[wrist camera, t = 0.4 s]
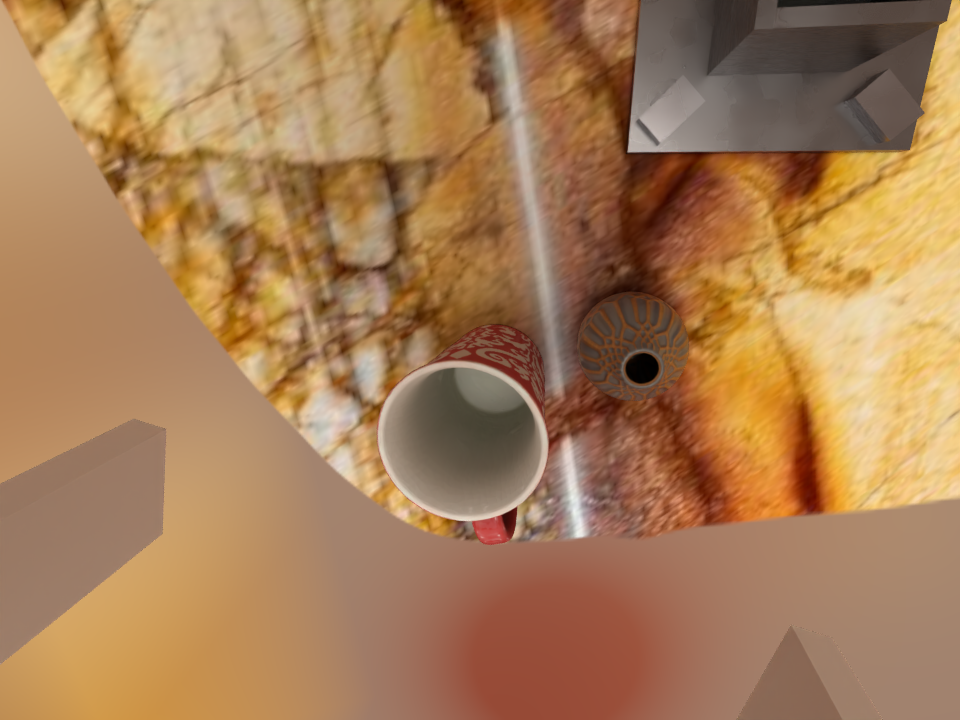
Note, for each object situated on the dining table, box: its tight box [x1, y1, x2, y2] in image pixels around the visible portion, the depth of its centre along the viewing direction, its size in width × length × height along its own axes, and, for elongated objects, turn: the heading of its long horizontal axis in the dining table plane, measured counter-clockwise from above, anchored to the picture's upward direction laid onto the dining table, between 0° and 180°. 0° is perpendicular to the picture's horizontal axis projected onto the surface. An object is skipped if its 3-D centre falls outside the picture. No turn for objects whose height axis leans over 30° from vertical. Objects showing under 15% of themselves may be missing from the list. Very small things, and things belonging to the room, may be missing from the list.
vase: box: [577, 292, 689, 401], centre depth 32 cm, size 7×7×9 cm
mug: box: [377, 324, 549, 545], centre depth 32 cm, size 13×9×14 cm
